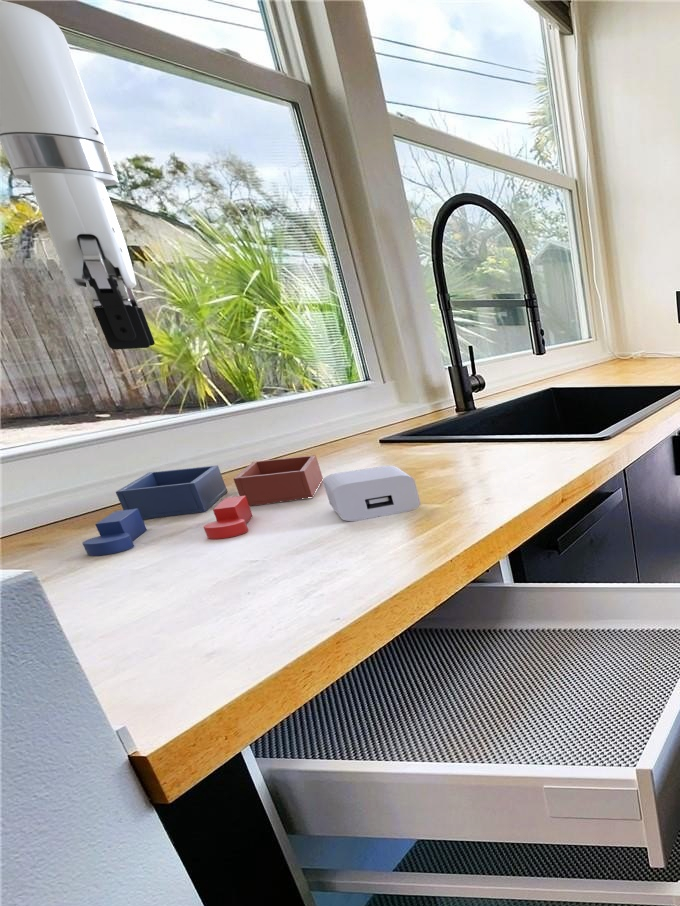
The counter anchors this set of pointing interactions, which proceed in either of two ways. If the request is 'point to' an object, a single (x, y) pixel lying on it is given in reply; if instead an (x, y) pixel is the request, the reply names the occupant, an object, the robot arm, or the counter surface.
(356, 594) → the counter surface
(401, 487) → the charger
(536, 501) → the counter surface
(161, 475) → the navy bin
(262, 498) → the red bin
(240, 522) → the red stamp
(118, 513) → the navy stepped block
